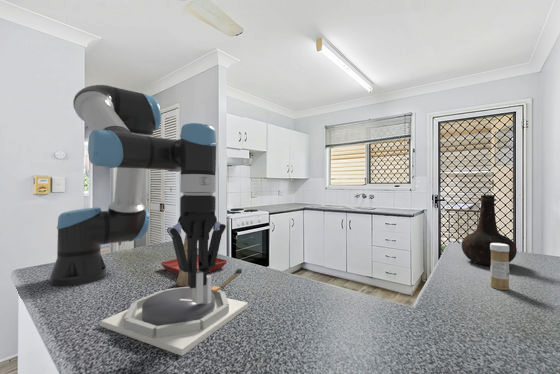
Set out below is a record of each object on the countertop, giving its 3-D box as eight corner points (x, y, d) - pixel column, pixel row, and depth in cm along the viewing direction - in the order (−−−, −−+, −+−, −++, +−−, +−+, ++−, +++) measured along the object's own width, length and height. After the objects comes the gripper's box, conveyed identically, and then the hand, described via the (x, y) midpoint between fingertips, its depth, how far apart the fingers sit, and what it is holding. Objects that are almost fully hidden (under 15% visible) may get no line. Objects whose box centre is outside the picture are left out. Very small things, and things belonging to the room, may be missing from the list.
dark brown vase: (470, 267, 103) (470, 195, 103) (455, 256, 120) (455, 194, 120) (527, 272, 98) (527, 195, 98) (502, 259, 115) (502, 194, 115)
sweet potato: (178, 290, 81) (198, 287, 84) (182, 233, 79) (203, 232, 82) (173, 281, 86) (193, 278, 90) (177, 227, 84) (197, 226, 88)
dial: (124, 323, 57) (125, 284, 57) (169, 294, 73) (170, 263, 73) (193, 331, 54) (194, 289, 54) (225, 299, 70) (225, 267, 70)
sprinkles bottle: (496, 284, 85) (496, 242, 85) (513, 289, 80) (512, 244, 80) (486, 286, 83) (486, 243, 83) (503, 291, 79) (503, 246, 79)
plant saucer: (159, 270, 100) (159, 261, 100) (201, 261, 113) (201, 253, 113) (184, 281, 88) (184, 271, 88) (228, 269, 102) (228, 260, 102)
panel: (100, 326, 58) (101, 309, 59) (179, 291, 79) (179, 279, 79) (182, 356, 48) (182, 335, 48) (248, 306, 68) (248, 292, 68)
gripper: (174, 194, 52) (173, 316, 52) (232, 194, 61) (231, 298, 60) (162, 194, 58) (161, 303, 58) (216, 194, 67) (216, 289, 66)
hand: (197, 301), depth 59 cm, fingers closed
